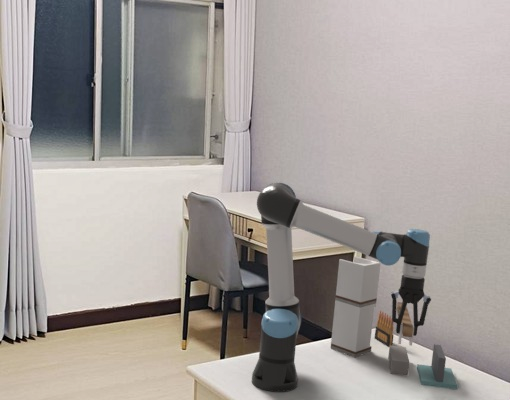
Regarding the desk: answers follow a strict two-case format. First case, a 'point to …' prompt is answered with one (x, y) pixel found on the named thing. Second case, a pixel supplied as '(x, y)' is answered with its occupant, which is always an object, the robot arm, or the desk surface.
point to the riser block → (398, 360)
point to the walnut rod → (405, 322)
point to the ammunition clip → (384, 329)
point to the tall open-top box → (355, 306)
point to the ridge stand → (437, 371)
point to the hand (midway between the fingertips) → (404, 343)
